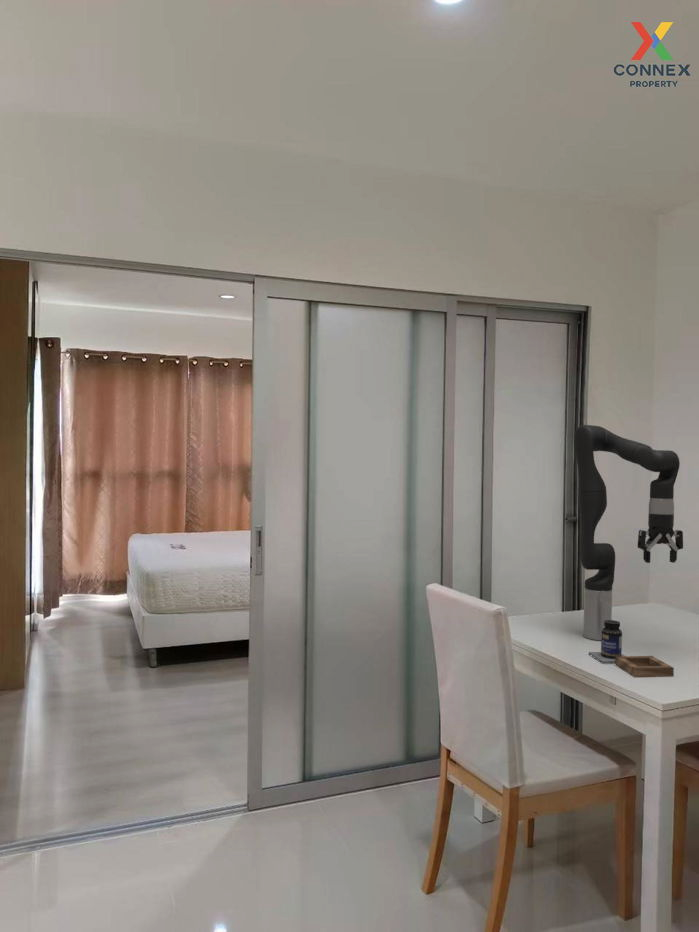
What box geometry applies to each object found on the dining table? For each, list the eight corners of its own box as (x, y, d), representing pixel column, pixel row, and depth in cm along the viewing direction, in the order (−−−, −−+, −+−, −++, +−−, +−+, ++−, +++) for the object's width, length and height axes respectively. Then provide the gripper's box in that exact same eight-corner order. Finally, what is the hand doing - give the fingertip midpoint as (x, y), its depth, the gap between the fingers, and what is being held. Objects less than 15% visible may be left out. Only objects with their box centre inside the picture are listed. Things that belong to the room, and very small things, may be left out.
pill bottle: (598, 656, 227) (599, 622, 226) (603, 652, 232) (604, 618, 232) (619, 660, 223) (619, 625, 223) (623, 655, 228) (624, 621, 228)
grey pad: (588, 654, 232) (588, 652, 232) (617, 653, 233) (617, 651, 233) (602, 663, 222) (602, 661, 222) (633, 663, 223) (633, 660, 223)
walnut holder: (615, 664, 221) (615, 656, 221) (651, 663, 223) (652, 655, 223) (634, 677, 209) (635, 668, 209) (673, 676, 211) (673, 667, 211)
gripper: (675, 511, 236) (674, 560, 236) (634, 511, 234) (633, 560, 235) (688, 513, 228) (687, 564, 229) (646, 513, 227) (645, 564, 227)
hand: (659, 562), depth 232 cm, fingers open, 8 cm apart
